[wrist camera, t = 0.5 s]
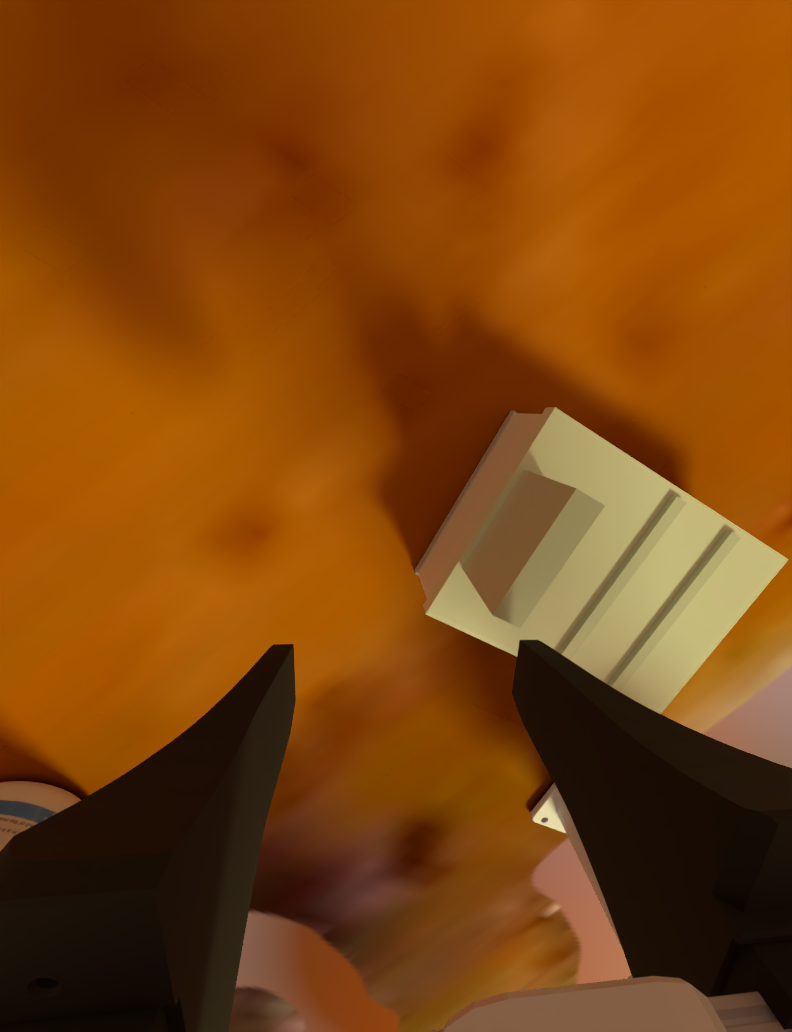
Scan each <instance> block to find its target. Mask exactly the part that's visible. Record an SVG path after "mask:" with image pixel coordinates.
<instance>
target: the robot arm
mask: <svg viewBox="0 0 792 1032" xmlns="http://www.w3.org/2000/svg"><path fill="white" fill-rule="evenodd" d="M512 694H513V697H514V700H515V703H516V706H517V708H518V711H519V714H520V716H521V719H522V721H523V724H524V726H525V728H526V730H527V732H528V734H529V736H530V738H531V740H532V742H533V743H534V745H535V747H536V749H537V751H538V753H539V755H540V757H541V759H542V761H543V762H544V764H545V766H546V768H547V770H548V772H549V774H550V776H551V778H552V779H553V781H554V783H553V785H552V786H551V787H550V788H549V790H548V791H547V792H546V793H545V795H544V796H543V797H542V799H541V800H540V801H539V802H538V804H537V805H536V806H535V807H534V809H533V810H532V811H531V817H532V820H533V821H534V822H536V823H539V824H542V825H544V826H547V827H550V828H553V829H556V830H558V831H561V832H564V833H566V834H567V836H568V838H569V840H570V842H571V844H572V846H573V848H574V850H575V852H576V854H577V856H578V858H579V860H580V862H581V864H582V866H583V868H584V870H585V872H586V875H587V877H588V879H589V881H590V883H591V885H592V887H593V889H594V891H595V893H596V895H597V897H598V899H599V901H600V903H601V905H602V907H603V909H604V912H605V913H606V916H607V918H608V920H609V922H610V924H611V926H612V928H613V930H614V932H615V934H616V936H617V938H618V940H619V942H620V944H621V946H622V949H623V951H624V954H625V957H626V959H627V962H628V965H629V968H630V971H631V974H632V975H631V976H629V977H628V979H622V980H613V981H604V982H596V983H586V984H577V985H568V986H559V987H551V988H542V989H533V990H524V991H515V992H506V993H503V994H499V995H496V996H492V997H488V998H485V999H481V1000H478V1001H474V1002H473V1003H471V1004H470V1005H468V1006H467V1007H465V1008H464V1009H462V1010H461V1011H459V1012H458V1013H457V1014H455V1015H454V1016H452V1017H451V1018H449V1019H448V1021H447V1023H446V1025H445V1027H444V1029H441V1030H432V1031H424V1032H792V768H789V767H786V766H783V765H780V764H777V763H774V762H771V761H769V760H766V759H763V758H761V757H758V756H755V755H753V754H750V753H747V752H744V751H742V750H739V749H736V748H734V747H732V746H729V745H727V744H724V743H722V742H719V741H717V740H715V739H712V738H710V737H708V736H706V735H703V734H701V733H699V732H697V731H694V730H692V729H690V728H687V727H685V726H683V725H681V724H679V723H677V722H675V721H673V720H671V719H669V718H667V717H665V716H663V715H661V714H659V713H657V712H655V711H653V710H651V709H649V708H647V707H645V706H644V705H642V704H640V703H638V702H636V701H635V700H633V699H631V698H629V697H628V696H626V695H624V694H623V693H621V692H619V691H618V690H616V689H614V688H612V687H611V686H609V685H608V684H606V683H604V682H603V681H601V680H600V679H598V678H596V677H595V676H593V675H592V674H590V673H589V672H587V671H586V670H584V669H583V668H581V667H580V666H578V665H577V664H575V663H574V662H572V661H571V660H569V659H568V658H566V657H565V656H563V655H562V654H560V653H559V652H557V651H556V650H554V649H552V648H551V647H549V646H548V645H546V644H544V643H543V642H541V641H539V640H520V641H519V648H518V655H517V662H516V669H515V676H514V683H513V690H512ZM294 707H295V673H294V647H293V644H283V645H272V646H271V647H270V648H269V649H268V650H267V651H266V653H265V654H264V655H263V656H262V657H261V658H260V659H259V660H258V662H257V663H256V664H255V665H254V666H253V667H252V668H251V669H250V670H249V672H248V673H247V674H246V675H245V676H244V677H243V678H242V679H241V680H240V681H239V682H238V683H237V684H236V685H235V686H234V687H233V688H232V689H231V690H230V691H229V692H228V693H227V694H226V695H225V696H224V697H223V698H222V699H221V700H220V701H219V702H218V703H217V704H216V705H215V706H214V707H213V708H211V709H210V710H209V711H208V712H207V713H206V714H205V715H204V716H203V717H202V718H200V719H199V720H198V721H197V722H196V723H195V724H193V725H192V726H191V727H190V728H188V729H187V730H186V731H185V732H183V733H182V734H181V735H180V736H178V737H177V738H176V739H174V740H173V741H172V742H170V743H169V744H168V745H166V746H165V747H163V748H162V749H160V750H159V751H158V752H156V753H155V754H153V755H152V756H151V757H149V758H148V759H146V760H145V761H143V762H142V763H141V764H139V765H138V766H136V767H135V768H133V769H132V770H130V771H129V772H127V773H125V774H124V775H122V776H121V777H119V778H117V779H116V780H114V781H113V782H111V783H109V784H108V785H106V786H104V787H103V788H101V789H99V790H98V791H96V792H94V793H93V794H91V795H89V796H88V797H86V798H84V799H82V800H81V801H79V802H77V803H75V804H74V805H72V806H70V807H68V808H66V809H64V810H62V811H60V812H59V813H57V814H55V815H53V816H51V817H49V818H47V819H45V820H44V821H42V822H40V823H38V824H36V825H34V826H32V827H30V828H28V829H27V830H25V831H23V832H21V833H19V834H17V835H15V836H13V837H12V839H11V840H10V841H9V842H8V843H7V844H6V845H5V846H4V848H3V849H2V850H1V851H0V1032H228V1029H229V1023H230V1017H231V1011H232V1004H233V998H234V992H235V986H236V980H237V975H238V969H239V963H240V957H241V951H242V945H243V939H244V933H245V928H246V922H247V917H248V911H249V906H250V900H251V895H252V889H253V884H254V878H255V873H256V868H257V863H258V857H259V852H260V847H261V842H262V836H263V832H264V828H265V823H266V819H267V815H268V811H269V808H270V804H271V801H272V797H273V794H274V790H275V786H276V783H277V779H278V776H279V772H280V769H281V765H282V761H283V758H284V754H285V751H286V747H287V743H288V740H289V736H290V731H291V725H292V719H293V713H294Z"/></svg>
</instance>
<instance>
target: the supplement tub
mask: <svg viewBox="0 0 792 1032" xmlns="http://www.w3.org/2000/svg"><path fill="white" fill-rule="evenodd" d="M79 801H81V799H79V798H78V797H77V796H75V795H74V794H72V793H70V792H68V791H66V790H64V789H61V788H58V787H55V786H52V785H49V784H44V783H38V782H29V781H9V782H0V851H1V850H2V849H3V848H4V846H5V845H6V844H7V843H8V842H9V841H10V840H11V839H12V837H13V836H15V835H17V834H19V833H21V832H23V831H25V830H27V829H28V828H30V827H32V826H34V825H36V824H38V823H40V822H42V821H44V820H45V819H47V818H49V817H51V816H53V815H55V814H57V813H59V812H60V811H62V810H64V809H66V808H68V807H70V806H72V805H74V804H75V803H77V802H79Z"/></svg>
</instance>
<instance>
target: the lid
mask: <svg viewBox="0 0 792 1032" xmlns="http://www.w3.org/2000/svg"><path fill="white" fill-rule="evenodd" d="M787 561H788V559H787V558H785V557H784V556H782V555H781V554H779V553H778V552H776V551H775V550H773V549H772V548H770V547H769V546H767V545H765V544H764V543H762V542H761V541H759V540H758V539H756V538H755V537H753V536H752V535H750V534H749V533H747V532H746V531H744V530H742V529H741V528H739V527H738V526H736V525H735V524H733V523H732V522H730V521H729V520H727V519H726V518H724V517H723V516H721V515H720V514H718V513H716V512H715V511H713V510H712V509H710V508H709V507H707V506H706V505H704V504H703V503H701V502H700V501H698V500H697V499H695V498H694V497H692V496H690V495H689V494H687V493H686V492H684V491H683V490H681V489H680V488H678V487H677V486H675V485H674V484H672V483H671V482H669V481H667V480H666V479H664V478H663V477H661V476H660V475H658V474H657V473H655V472H654V471H652V470H651V469H649V468H648V467H646V466H645V465H643V464H641V463H640V462H638V461H637V460H635V459H634V458H632V457H631V456H629V455H628V454H626V453H625V452H623V451H622V450H620V449H619V448H617V447H615V446H614V445H612V444H611V443H609V442H608V441H606V440H605V439H603V438H602V437H600V436H599V435H597V434H596V433H594V432H592V431H591V430H589V429H588V428H586V427H585V426H583V425H582V424H580V423H579V422H577V421H576V420H574V419H573V418H571V417H570V416H568V415H566V414H565V413H563V412H562V411H560V410H559V409H557V408H556V407H546V408H545V410H544V411H543V413H542V414H541V416H540V418H539V419H538V421H537V423H536V424H535V426H534V427H533V429H532V431H531V432H530V434H529V435H528V437H527V439H526V440H525V442H524V443H523V445H522V447H521V448H520V450H519V451H518V453H517V455H516V456H515V458H514V460H513V461H512V463H511V464H510V466H509V468H508V469H507V471H506V472H505V474H504V476H503V477H502V479H501V480H500V482H499V484H498V485H497V487H496V488H495V490H494V492H493V493H492V495H491V497H490V498H489V500H488V501H487V503H486V505H485V506H484V508H483V509H482V511H481V513H480V514H479V516H478V517H477V519H476V521H475V522H474V524H473V525H472V527H471V529H470V530H469V532H468V534H467V535H466V537H465V538H464V540H463V542H462V543H461V545H460V546H459V548H458V550H457V551H456V553H455V554H454V556H453V558H452V559H451V561H450V562H449V564H448V566H447V567H446V569H445V571H444V572H443V574H442V575H441V577H440V579H439V580H438V582H437V583H436V585H435V587H434V588H433V590H432V591H431V593H430V595H429V596H428V598H427V599H426V601H425V603H424V604H423V608H424V611H425V614H426V615H428V616H430V617H433V618H435V619H437V620H439V621H441V622H443V623H445V624H448V625H450V626H452V627H454V628H456V629H458V630H460V631H463V632H465V633H467V634H469V635H471V636H473V637H476V638H478V639H480V640H482V641H484V642H486V643H488V644H491V645H493V646H495V647H497V648H499V649H501V650H504V651H506V652H508V653H510V654H512V655H514V656H516V657H517V655H518V648H519V641H520V640H539V641H541V642H543V643H544V644H546V645H548V646H549V647H551V648H552V649H554V650H556V651H557V652H559V653H560V654H562V655H563V656H565V657H566V658H568V659H569V660H571V661H572V662H574V663H575V664H577V665H578V666H580V667H581V668H583V669H584V670H586V671H587V672H589V673H590V674H592V675H593V676H595V677H596V678H598V679H600V680H601V681H603V682H604V683H606V684H608V685H609V686H611V687H612V688H614V689H616V690H618V691H619V692H621V693H623V694H624V695H626V696H628V697H629V698H631V699H633V700H635V701H636V702H638V703H640V704H642V705H644V706H645V707H647V708H649V709H651V710H653V711H655V712H657V713H659V714H661V713H662V712H663V711H664V709H665V708H666V707H667V706H668V705H669V703H670V702H671V701H672V700H673V699H674V697H675V696H676V695H677V694H678V692H679V691H680V690H681V689H682V688H683V686H684V685H685V684H686V683H687V682H688V680H689V679H690V678H691V677H692V676H693V674H694V673H695V672H696V671H697V670H698V668H699V667H700V666H701V665H702V663H703V662H704V661H705V660H706V659H707V657H708V656H709V655H710V654H711V653H712V651H713V650H714V649H715V648H716V647H717V645H718V644H719V643H720V642H721V641H722V639H723V638H724V637H725V636H726V634H727V633H728V632H729V631H730V630H731V628H732V627H733V626H734V625H735V624H736V622H737V621H738V620H739V619H740V618H741V616H742V615H743V614H744V613H745V612H746V610H747V609H748V608H749V607H750V605H751V604H752V603H753V602H754V601H755V599H756V598H757V597H758V596H759V595H760V593H761V592H762V591H763V590H764V589H765V587H766V586H767V585H768V584H769V583H770V581H771V580H772V579H773V578H774V576H775V575H776V574H777V573H778V572H779V570H780V569H781V568H782V567H783V566H784V564H785V563H786V562H787Z"/></svg>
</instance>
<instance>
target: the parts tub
mask: <svg viewBox="0 0 792 1032" xmlns="http://www.w3.org/2000/svg"><path fill="white" fill-rule="evenodd" d="M540 416H541V414H525V413H517V412H516V411H510V412H509V414H508V416H507V417H506V419H505V421H504V422H503V424H502V426H501V427H500V429H499V430H498V432H497V434H496V435H495V437H494V439H493V440H492V442H491V444H490V445H489V447H488V449H487V450H486V452H485V454H484V455H483V457H482V459H481V460H480V462H479V464H478V465H477V467H476V469H475V470H474V472H473V474H472V475H471V477H470V479H469V480H468V482H467V484H466V485H465V487H464V489H463V490H462V492H461V494H460V495H459V497H458V498H457V500H456V502H455V503H454V505H453V507H452V508H451V510H450V512H449V513H448V515H447V517H446V518H445V520H444V522H443V523H442V525H441V527H440V528H439V530H438V532H437V533H436V535H435V537H434V538H433V540H432V542H431V543H430V545H429V547H428V548H427V550H426V552H425V553H424V555H423V557H422V558H421V560H420V562H419V563H418V565H417V566H416V568H415V570H414V572H415V574H416V575H418V576H419V579H420V581H421V584H422V587H423V590H424V593H425V596H426V598H428V596H429V595H430V593H431V591H432V590H433V588H434V587H435V585H436V583H437V582H438V580H439V579H440V577H441V575H442V574H443V572H444V571H445V569H446V567H447V566H448V564H449V562H450V561H451V559H452V558H453V556H454V554H455V553H456V551H457V550H458V548H459V546H460V545H461V543H462V542H463V540H464V538H465V537H466V535H467V534H468V532H469V530H470V529H471V527H472V525H473V524H474V522H475V521H476V519H477V517H478V516H479V514H480V513H481V511H482V509H483V508H484V506H485V505H486V503H487V501H488V500H489V498H490V497H491V495H492V493H493V492H494V490H495V488H496V487H497V485H498V484H499V482H500V480H501V479H502V477H503V476H504V474H505V472H506V471H507V469H508V468H509V466H510V464H511V463H512V461H513V460H514V458H515V456H516V455H517V453H518V451H519V450H520V448H521V447H522V445H523V443H524V442H525V440H526V439H527V437H528V435H529V434H530V432H531V431H532V429H533V427H534V426H535V424H536V423H537V421H538V419H539V418H540Z"/></svg>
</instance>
